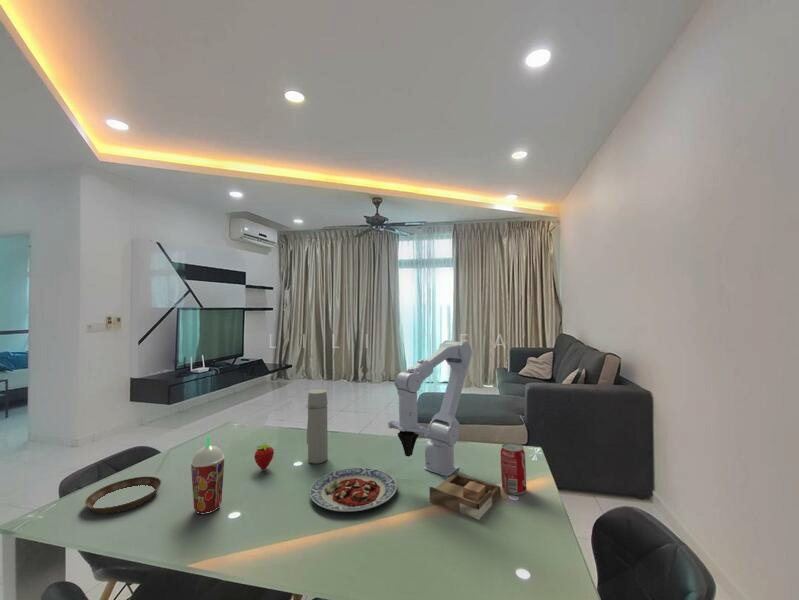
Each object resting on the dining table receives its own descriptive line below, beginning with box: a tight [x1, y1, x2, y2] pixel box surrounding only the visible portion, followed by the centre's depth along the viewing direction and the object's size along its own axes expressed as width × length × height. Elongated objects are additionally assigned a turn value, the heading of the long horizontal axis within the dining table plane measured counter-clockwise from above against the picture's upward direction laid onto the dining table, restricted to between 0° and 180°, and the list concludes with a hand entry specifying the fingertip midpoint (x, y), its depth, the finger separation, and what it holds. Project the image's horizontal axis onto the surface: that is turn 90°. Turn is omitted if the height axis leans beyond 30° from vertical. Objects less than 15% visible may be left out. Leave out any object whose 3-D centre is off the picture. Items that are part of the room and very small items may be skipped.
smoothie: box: [190, 435, 226, 513], centre depth 99 cm, size 8×8×20 cm
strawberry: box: [254, 444, 275, 471], centre depth 123 cm, size 6×8×10 cm
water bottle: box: [305, 389, 329, 464], centre depth 131 cm, size 9×8×25 cm
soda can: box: [500, 442, 527, 496], centre depth 107 cm, size 7×7×13 cm
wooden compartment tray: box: [429, 472, 502, 520], centre depth 103 cm, size 15×15×4 cm
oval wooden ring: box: [84, 476, 162, 514], centre depth 105 cm, size 18×18×3 cm
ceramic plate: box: [309, 467, 398, 513], centre depth 107 cm, size 26×26×3 cm
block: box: [463, 481, 485, 503], centre depth 99 cm, size 4×4×3 cm
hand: (408, 455), depth 111 cm, fingers closed
